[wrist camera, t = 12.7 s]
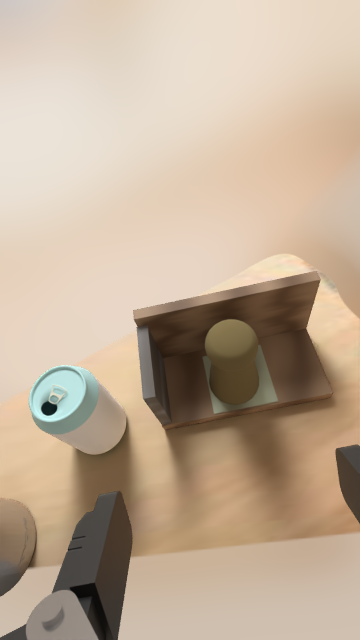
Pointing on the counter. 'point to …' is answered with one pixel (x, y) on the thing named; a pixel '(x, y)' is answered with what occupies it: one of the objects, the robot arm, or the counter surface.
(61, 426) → the can
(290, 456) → the counter surface
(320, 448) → the counter surface
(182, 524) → the counter surface
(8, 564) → the robot arm
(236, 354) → the cork
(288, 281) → the shelf
